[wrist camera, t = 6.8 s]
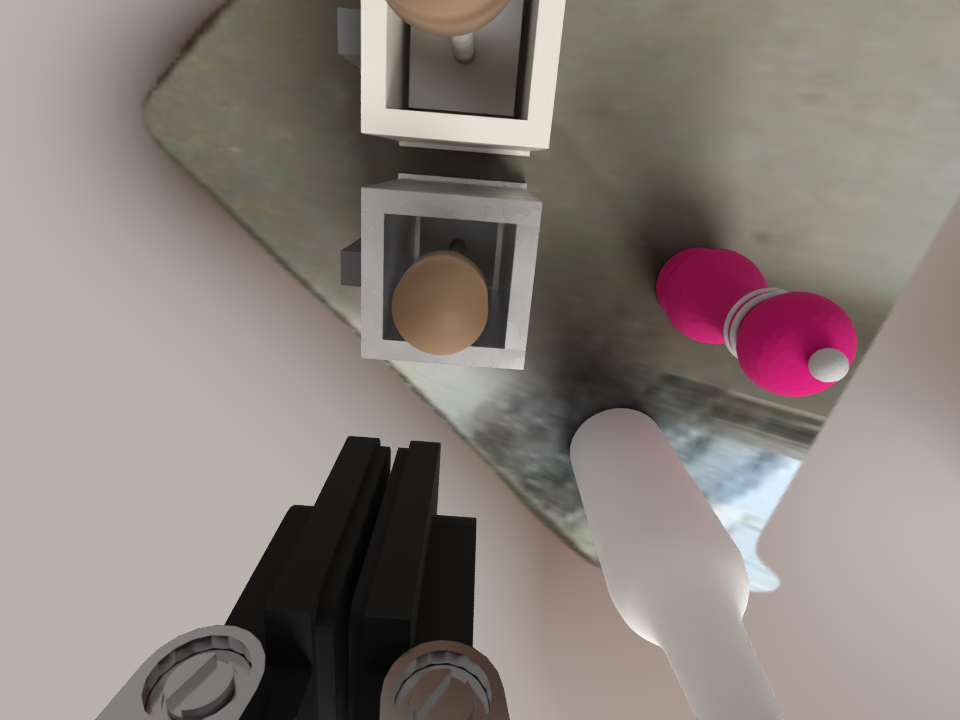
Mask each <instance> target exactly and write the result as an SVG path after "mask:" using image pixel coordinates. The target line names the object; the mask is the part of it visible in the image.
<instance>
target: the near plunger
mask: <svg viewBox="0 0 960 720" xmlns="http://www.w3.org/2000/svg"><path fill="white" fill-rule="evenodd" d="M385 1H386V2H387V3H388V5H389V6H390V7H391V9H392V10H393V11H394V12H395V13H396V14H397V15H398V16H399V17H400V18H401V19H403V20H404V21H405V22H406V23H408V24H409V25H411V40H410V77H409V108H414V109H426V110H438V111H450V112H461V113H473V114H485V115H497V116H509V117H513V112H514V101H515V90H516V79H517V68H518V57H519V46H520V34H521V23H522V12H523V1H524V0H385Z"/></svg>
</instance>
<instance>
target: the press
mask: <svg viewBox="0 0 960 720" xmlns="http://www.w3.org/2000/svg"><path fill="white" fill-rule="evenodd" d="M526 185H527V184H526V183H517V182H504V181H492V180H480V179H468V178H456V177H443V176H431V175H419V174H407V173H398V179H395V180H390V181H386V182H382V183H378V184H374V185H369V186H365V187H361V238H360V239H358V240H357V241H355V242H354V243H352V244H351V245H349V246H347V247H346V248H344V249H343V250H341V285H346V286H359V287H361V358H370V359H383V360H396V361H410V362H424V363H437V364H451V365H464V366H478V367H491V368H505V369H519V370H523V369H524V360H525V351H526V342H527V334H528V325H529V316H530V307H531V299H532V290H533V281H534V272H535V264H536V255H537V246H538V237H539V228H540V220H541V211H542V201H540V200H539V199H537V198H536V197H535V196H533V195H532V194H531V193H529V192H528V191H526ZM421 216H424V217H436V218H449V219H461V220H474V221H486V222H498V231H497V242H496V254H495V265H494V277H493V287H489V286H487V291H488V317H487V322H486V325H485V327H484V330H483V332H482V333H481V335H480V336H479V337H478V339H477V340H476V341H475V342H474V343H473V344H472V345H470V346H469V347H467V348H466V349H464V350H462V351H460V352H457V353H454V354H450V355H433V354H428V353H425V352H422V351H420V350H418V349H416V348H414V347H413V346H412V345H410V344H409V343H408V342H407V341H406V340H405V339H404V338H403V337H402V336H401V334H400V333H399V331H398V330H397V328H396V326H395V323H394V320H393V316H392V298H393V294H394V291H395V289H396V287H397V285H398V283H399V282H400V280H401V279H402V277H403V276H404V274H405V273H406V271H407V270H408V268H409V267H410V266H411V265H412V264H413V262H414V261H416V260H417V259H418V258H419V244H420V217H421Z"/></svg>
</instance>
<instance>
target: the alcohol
mask: <svg viewBox="0 0 960 720" xmlns="http://www.w3.org/2000/svg"><path fill="white" fill-rule="evenodd" d="M570 459H571V464H572V467H573V471H574V474H575V478H576V481H577V484H578V488H579V491H580V495H581V498H582V502H583V505H584V508H585V512H586V515H587V519H588V522H589V526H590V529H591V532H592V536H593V539H594V543H595V546H596V550H597V553H598V556H599V560H600V563H601V567H602V570H603V573H604V577H605V580H606V584H607V587H608V591H609V594H610V597H611V599H612V601H613V603H614V605H615V607H616V608H617V610H618V611H619V613H620V614H621V616H622V617H623V619H624V620H625V622H626V623H627V624H628V625H629V627H630V628H631V629H632V630H633V631H635V632H636V633H637V634H639V635H640V636H641V637H643V638H644V639H646V640H648V641H649V642H651V643H653V644H655V645H658V646H660V647H661V648H662V649H663V650H664V652H665V654H666V656H667V658H668V660H669V662H670V664H671V666H672V668H673V671H674V673H675V675H676V677H677V679H678V681H679V684H680V686H681V688H682V690H683V692H684V694H685V696H686V699H687V701H688V703H689V705H690V707H691V709H692V711H693V714H694V716H695V718H696V720H786V719H785V717H784V715H783V713H782V710H781V708H780V706H779V704H778V702H777V699H776V697H775V695H774V693H773V690H772V688H771V686H770V684H769V682H768V679H767V677H766V675H765V673H764V671H763V668H762V666H761V664H760V662H759V660H758V657H757V655H756V653H755V651H754V648H753V646H752V644H751V642H750V640H749V637H748V635H747V633H746V631H745V629H744V626H743V623H742V617H743V614H744V612H745V610H746V606H747V602H748V597H749V591H750V588H749V579H748V575H747V572H746V568H745V565H744V561H743V558H742V555H741V553H740V551H739V549H738V548H737V546H736V545H735V543H734V541H733V540H732V538H731V537H730V535H729V534H728V532H727V531H726V529H725V528H724V526H723V525H722V523H721V522H720V520H719V519H718V517H717V516H716V514H715V512H714V511H713V509H712V508H711V506H710V505H709V503H708V502H707V500H706V499H705V497H704V496H703V494H702V493H701V491H700V490H699V488H698V487H697V485H696V483H695V482H694V480H693V479H692V477H691V476H690V474H689V473H688V471H687V470H686V468H685V467H684V465H683V464H682V462H681V461H680V459H679V458H678V456H677V454H676V453H675V451H674V450H673V448H672V447H671V445H670V444H669V442H668V441H667V439H666V438H665V436H664V435H663V433H662V432H661V430H660V429H659V427H658V426H657V424H656V423H655V422H654V421H653V420H652V419H651V418H650V417H649V416H647V415H645V414H644V413H642V412H639V411H636V410H633V409H627V408H614V409H609V410H605V411H602V412H600V413H597V414H595V415H594V416H592V417H590V418H589V419H587V420H586V421H585V422H584V423H583V424H582V425H581V426H580V427H579V429H578V430H577V431H576V433H575V435H574V437H573V439H572V442H571V446H570Z"/></svg>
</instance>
